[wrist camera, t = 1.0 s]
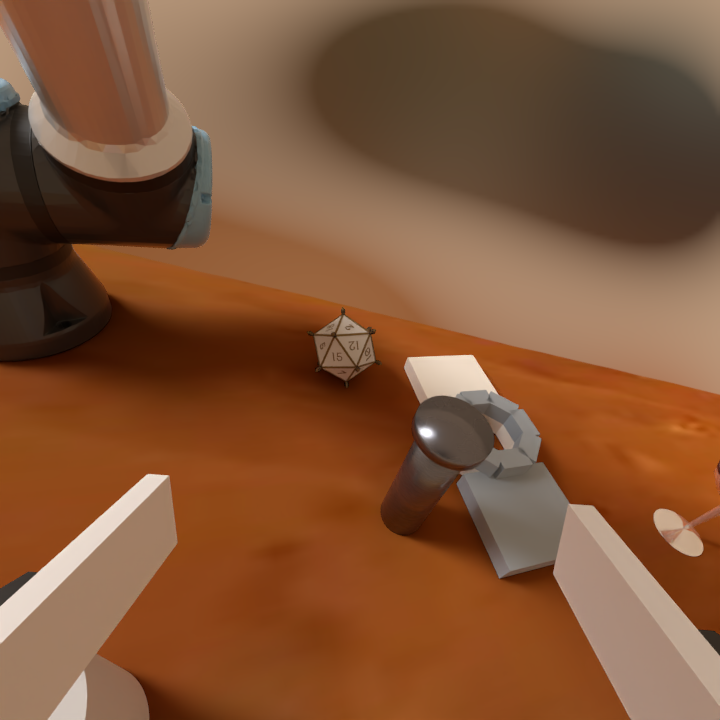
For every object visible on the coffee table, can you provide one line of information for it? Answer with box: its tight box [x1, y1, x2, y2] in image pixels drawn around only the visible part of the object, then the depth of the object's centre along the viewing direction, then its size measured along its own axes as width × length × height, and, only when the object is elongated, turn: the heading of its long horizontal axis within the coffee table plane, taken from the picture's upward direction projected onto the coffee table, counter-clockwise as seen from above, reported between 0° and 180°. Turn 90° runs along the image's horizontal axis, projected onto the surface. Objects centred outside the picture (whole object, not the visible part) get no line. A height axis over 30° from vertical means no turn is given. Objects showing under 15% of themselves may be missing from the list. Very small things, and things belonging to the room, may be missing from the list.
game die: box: [307, 307, 382, 388], centre depth 44 cm, size 9×8×10 cm
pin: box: [381, 396, 494, 535], centre depth 30 cm, size 6×6×14 cm
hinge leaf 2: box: [455, 390, 570, 579], centre depth 38 cm, size 18×10×4 cm, turn 14°
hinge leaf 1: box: [404, 355, 514, 475], centre depth 44 cm, size 18×10×2 cm, turn 14°
